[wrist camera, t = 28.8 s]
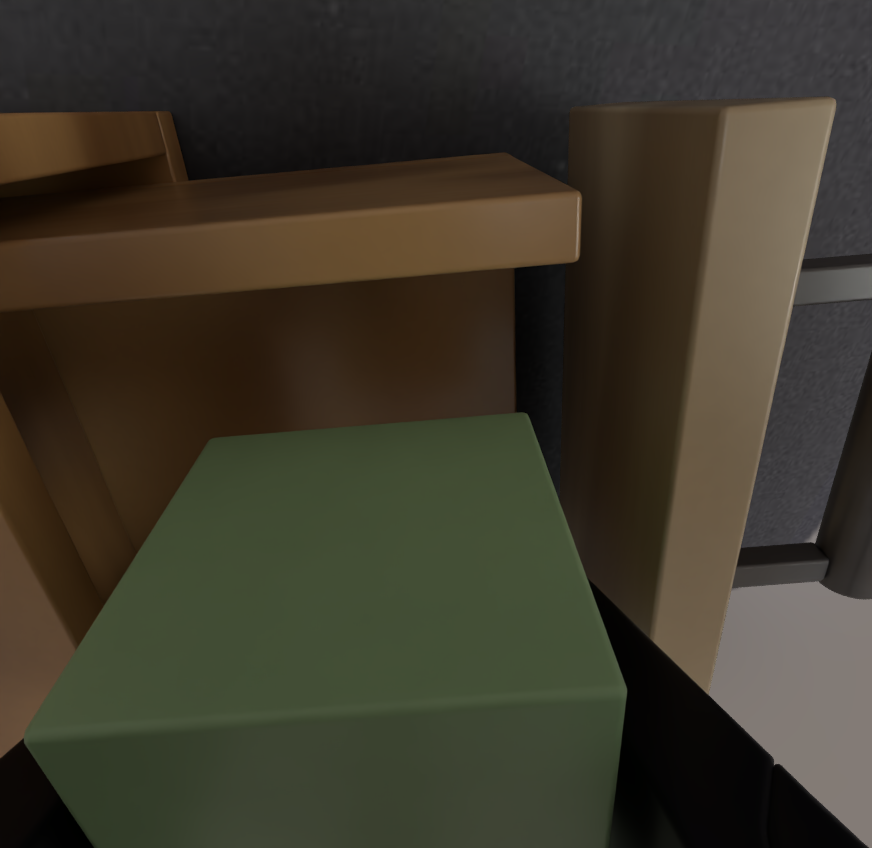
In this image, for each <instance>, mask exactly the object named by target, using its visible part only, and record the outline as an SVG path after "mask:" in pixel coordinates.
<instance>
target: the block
mask: <svg viewBox="0 0 872 848" xmlns="http://www.w3.org/2000/svg"><path fill="white" fill-rule="evenodd" d="M626 697H627V688H626V685H625V682H624V679H623V677H622V674H621V671H620V668H619V665H618V663H617V660H616V657H615V654H614V652H613V649H612V646H611V643H610V640H609V638H608V635H607V632H606V629H605V627H604V624H603V621H602V618H601V615H600V613H599V610H598V607H597V604H596V602H595V599H594V596H593V593H592V590H591V588H590V585H589V582H588V579H587V577H586V574H585V571H584V568H583V566H582V563H581V560H580V557H579V554H578V552H577V549H576V546H575V543H574V541H573V538H572V535H571V532H570V529H569V527H568V524H567V521H566V518H565V516H564V513H563V510H562V507H561V504H560V502H559V499H558V496H557V493H556V491H555V488H554V485H553V482H552V479H551V477H550V474H549V471H548V468H547V466H546V463H545V460H544V457H543V454H542V452H541V449H540V446H539V443H538V441H537V438H536V435H535V432H534V430H533V427H532V424H531V421H530V418H529V416H528V414H527V413H523V412H520V413H508V414H496V415H484V416H472V417H460V418H447V419H435V420H423V421H411V422H399V423H387V424H375V425H362V426H350V427H338V428H326V429H314V430H302V431H290V432H277V433H265V434H253V435H241V436H229V437H217V438H212V439H210V440H209V441H208V443H207V444H206V446H205V447H204V449H203V450H202V452H201V454H200V455H199V457H198V458H197V460H196V461H195V463H194V465H193V466H192V468H191V469H190V471H189V473H188V474H187V476H186V477H185V479H184V480H183V482H182V484H181V485H180V487H179V488H178V490H177V491H176V493H175V495H174V496H173V498H172V499H171V501H170V503H169V504H168V506H167V507H166V509H165V510H164V512H163V514H162V515H161V517H160V518H159V520H158V521H157V523H156V525H155V526H154V528H153V529H152V531H151V533H150V534H149V536H148V537H147V539H146V540H145V542H144V544H143V545H142V547H141V548H140V550H139V551H138V553H137V555H136V556H135V558H134V559H133V561H132V563H131V564H130V566H129V567H128V569H127V570H126V572H125V574H124V575H123V577H122V578H121V580H120V581H119V583H118V585H117V586H116V588H115V589H114V591H113V593H112V594H111V596H110V597H109V599H108V600H107V602H106V604H105V605H104V607H103V608H102V610H101V611H100V613H99V615H98V616H97V618H96V619H95V621H94V623H93V624H92V626H91V627H90V629H89V630H88V632H87V634H86V635H85V637H84V638H83V640H82V641H81V643H80V645H79V646H78V648H77V649H76V651H75V653H74V654H73V656H72V657H71V659H70V660H69V662H68V664H67V665H66V667H65V668H64V670H63V671H62V673H61V675H60V676H59V678H58V679H57V681H56V683H55V684H54V686H53V687H52V689H51V690H50V692H49V694H48V695H47V697H46V698H45V700H44V701H43V703H42V705H41V706H40V708H39V709H38V711H37V713H36V714H35V716H34V717H33V719H32V720H31V722H30V724H29V725H28V727H27V728H26V730H25V734H24V744H25V745H26V747H27V748H28V750H29V751H30V753H31V754H32V756H33V757H34V759H35V760H36V762H37V763H38V765H39V766H40V768H41V769H42V771H43V772H44V774H45V775H46V777H47V778H48V780H49V781H50V783H51V784H52V786H53V787H54V789H55V790H56V792H57V793H58V794H59V796H60V797H61V799H62V800H63V802H64V803H65V805H66V806H67V808H68V809H69V811H70V812H71V814H72V815H73V817H74V818H75V820H76V821H77V823H78V824H79V826H80V827H81V829H82V830H83V832H84V833H85V835H86V836H87V838H88V839H89V841H90V842H91V844H92V845H93V847H94V848H609V844H610V835H611V826H612V818H613V809H614V801H615V792H616V783H617V775H618V766H619V757H620V749H621V740H622V731H623V723H624V714H625V705H626Z"/></svg>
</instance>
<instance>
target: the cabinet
mask: <svg viewBox="0 0 872 848" xmlns="http://www.w3.org/2000/svg"><path fill="white" fill-rule="evenodd" d="M181 181H189V180H188V176H187V172H186V168H185V165H184V161H183V157H182V153H181V149H180V145H179V142H178V138H177V134H176V130H175V126H174V123H173V119H172V115H171V113H170V112H169V111H125V112H46V113H0V198H3V197H14V196H25V195H36V194H47V193H59V192H70V191H81V190H92V189H103V188H114V187H125V186H136V185H147V184H158V183H170V182H181ZM103 607H104V606H103V603H102V601H101V599H100V597H99V595H98V593H97V591H96V589H95V587H94V585H93V583H92V581H91V579H90V577H89V574H88V572H87V570H86V568H85V566H84V564H83V562H82V560H81V558H80V556H79V554H78V552H77V550H76V548H75V545H74V543H73V541H72V539H71V537H70V535H69V533H68V531H67V529H66V527H65V525H64V523H63V521H62V519H61V516H60V514H59V512H58V510H57V508H56V506H55V504H54V502H53V500H52V498H51V496H50V494H49V492H48V489H47V487H46V485H45V483H44V481H43V479H42V477H41V475H40V473H39V471H38V469H37V467H36V465H35V463H34V460H33V458H32V456H31V454H30V452H29V450H28V448H27V446H26V444H25V442H24V440H23V438H22V436H21V434H20V431H19V429H18V427H17V425H16V423H15V421H14V419H13V417H12V415H11V413H10V411H9V409H8V407H7V405H6V402H5V400H4V398H3V396H2V394H1V392H0V758H1V757H2V756H4V755H5V754H6V753H7V752H8V751H9V750H10V749H11V748H13V747H14V746H15V745H16V744H17V743H18V742H19V741H20V740H22V739H23V738H24V734H25V730H26V728H27V727H28V725H29V724H30V722H31V720H32V719H33V717H34V716H35V714H36V713H37V711H38V709H39V708H40V706H41V705H42V703H43V701H44V700H45V698H46V697H47V695H48V694H49V692H50V690H51V689H52V687H53V686H54V684H55V683H56V681H57V679H58V678H59V676H60V675H61V673H62V671H63V670H64V668H65V667H66V665H67V664H68V662H69V660H70V659H71V657H72V656H73V654H74V653H75V651H76V649H77V648H78V646H79V645H80V643H81V641H82V640H83V638H84V637H85V635H86V634H87V632H88V630H89V629H90V627H91V626H92V624H93V623H94V621H95V619H96V618H97V616H98V615H99V613H100V611H101V610H102V608H103Z"/></svg>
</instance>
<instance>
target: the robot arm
mask: <svg viewBox="0 0 872 848" xmlns="http://www.w3.org/2000/svg"><path fill="white" fill-rule="evenodd" d="M587 579H588V578H587ZM588 582H589V585H590V588H591V590H592V593H593V596H594V599H595V602H596V604H597V607H598V610H599V613H600V615H601V618H602V621H603V624H604V627H605V629H606V632H607V635H608V638H609V640H610V643H611V646H612V649H613V652H614V654H615V657H616V660H617V663H618V665H619V668H620V671H621V674H622V677H623V679H624V682H625V685H626V688H627V697H626V705H625V714H624V723H623V731H622V740H621V749H620V757H619V766H618V775H617V783H616V792H615V801H614V809H613V818H612V826H611V835H610V844H609V848H869V847H867V846H866V845H865V844H864V843H863V842H861V841H860V840H859V839H858V838H857V837H856V836H855V835H854V834H853V833H852V832H851V831H850V830H849V829H848V828H847V827H845V826H844V825H843V824H842V823H841V822H840V821H839V820H838V819H837V818H836V817H835V816H834V815H833V814H832V813H831V812H829V811H828V810H827V809H826V808H825V807H824V806H823V805H822V804H821V803H820V802H819V801H817V799H815V798H814V797H813V796H812V795H811V794H810V793H809V792H808V791H807V790H806V789H805V788H804V787H803V786H802V785H801V784H800V783H799V782H798V781H797V780H796V779H795V778H794V777H793V776H791V774H790V773H788V772H787V771H786V770H785V769H784V768H783V767H782V766H781V765H780V764H775V765H774V759H773V757H772V756H771V755H770V754H769V753H768V752H766V751H765V750H764V749H763V748H762V747H761V746H760V745H759V744H758V743H757V742H756V741H755V740H754V739H753V738H752V737H751V736H750V735H749V734H748V733H747V732H746V731H745V730H744V729H743V728H742V727H741V726H740V725H739V724H738V723H737V722H736V721H735V720H734V719H732V717H730V716H729V715H728V714H727V713H726V712H725V711H724V710H723V709H722V708H721V707H720V706H719V705H718V704H717V703H716V702H715V701H714V700H713V699H712V698H711V697H710V696H709V695H708V694H707V693H706V692H705V691H704V690H703V689H702V688H701V687H700V686H699V685H698V684H697V683H695V682H694V681H693V680H692V679H691V678H690V677H689V676H688V675H687V674H686V673H685V672H684V671H683V670H682V669H681V668H680V667H679V666H678V665H677V664H676V663H675V662H674V661H673V660H672V659H671V658H670V657H669V656H668V655H667V654H666V653H665V652H664V651H663V650H661V649H660V648H659V647H658V646H657V645H656V644H655V643H654V642H653V641H652V640H651V639H650V638H649V637H648V636H647V635H646V634H645V633H644V632H643V631H642V630H641V629H640V628H639V627H638V626H637V625H636V624H635V623H634V622H633V621H632V620H631V619H630V618H629V617H627V616H626V615H625V614H624V613H623V612H622V611H621V610H620V609H619V608H618V607H617V606H616V605H615V604H614V603H613V602H612V601H611V600H610V599H609V598H608V597H607V596H606V595H605V594H604V593H603V592H602V591H601V590H600V589H599V588H598V587H597V586H596V585H595V584H594V583H592V582H591V581H590V580H589V579H588ZM0 848H94V847H93V845H92V844H91V842H90V841H89V839H88V838H87V836H86V835H85V833H84V832H83V830H82V829H81V827H80V826H79V824H78V823H77V821H76V820H75V818H74V817H73V815H72V814H71V812H70V811H69V809H68V808H67V806H66V805H65V803H64V802H63V800H62V799H61V797H60V796H59V794H58V793H57V792H56V790H55V789H54V787H53V786H52V784H51V783H50V781H49V780H48V778H47V777H46V775H45V774H44V772H43V771H42V769H41V768H40V766H39V765H38V763H37V762H36V760H35V759H34V757H33V756H32V754H31V753H30V751H29V750H28V748H27V747H26V745H25V744H24V738H23V739H22V740H20V741H19V742H18V743H17V744H16V745H15V746H14V747H13V748H11V749H10V750H9V751H8V752H7V753H6V754H5V755H4V756H2V757H1V758H0Z"/></svg>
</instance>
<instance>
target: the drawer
mask: <svg viewBox="0 0 872 848" xmlns="http://www.w3.org/2000/svg"><path fill="white" fill-rule="evenodd" d="M835 110H836V100H835V99H833V98H831V97H792V98H756V99H719V100H683V101H647V102H621V103H610V104H599V105H588V106H577V107H573V108H571V110H570V114H569V153H568V185H566V184H564V183H562V182H561V181H559V180H557V179H555V178H553V177H551V176H549V175H547V174H545V173H543V172H541V171H539V170H537V169H535V168H534V167H532V166H530V165H528V164H526V163H524V162H522V161H520V160H518V159H516V158H514V157H512V155H510V154H508V153H505V152H503V153H492V154H480V155H469V156H458V157H447V158H436V159H425V160H414V161H403V162H392V163H381V164H369V165H358V166H347V167H336V168H325V169H314V170H303V171H292V172H281V173H270V174H258V175H247V176H236V177H225V178H214V179H203V180H192V181H181V182H170V183H158V184H147V185H136V186H125V187H114V188H103V189H92V190H81V191H70V192H59V193H47V194H36V195H25V196H14V197H3V198H0V392H1V394H2V396H3V398H4V400H5V402H6V405H7V407H8V409H9V411H10V413H11V415H12V417H13V419H14V421H15V423H16V425H17V427H18V429H19V431H20V434H21V436H22V438H23V440H24V442H25V444H26V446H27V448H28V450H29V452H30V454H31V456H32V458H33V460H34V463H35V465H36V467H37V469H38V471H39V473H40V475H41V477H42V479H43V481H44V483H45V485H46V487H47V489H48V492H49V494H50V496H51V498H52V500H53V502H54V504H55V506H56V508H57V510H58V512H59V514H60V516H61V519H62V521H63V523H64V525H65V527H66V529H67V531H68V533H69V535H70V537H71V539H72V541H73V543H74V545H75V548H76V550H77V552H78V554H79V556H80V558H81V560H82V562H83V564H84V566H85V568H86V570H87V572H88V574H89V577H90V579H91V581H92V583H93V585H94V587H95V589H96V591H97V593H98V595H99V597H100V599H101V601H102V603H103V606H104V605H105V604H106V602H107V600H108V599H109V597H110V596H111V594H112V593H113V591H114V589H115V588H116V586H117V585H118V583H119V581H120V580H121V578H122V577H123V575H124V574H125V572H126V570H127V569H128V567H129V566H130V564H131V563H132V561H133V559H134V558H135V556H136V555H137V553H138V551H139V550H140V548H141V547H142V545H143V544H144V542H145V540H146V539H147V537H148V536H149V534H150V533H151V531H152V529H153V528H154V526H155V525H156V523H157V521H158V520H159V518H160V517H161V515H162V514H163V512H164V510H165V509H166V507H167V506H168V504H169V503H170V501H171V499H172V498H173V496H174V495H175V493H176V491H177V490H178V488H179V487H180V485H181V484H182V482H183V480H184V479H185V477H186V476H187V474H188V473H189V471H190V469H191V468H192V466H193V465H194V463H195V461H196V460H197V458H198V457H199V455H200V454H201V452H202V450H203V449H204V447H205V446H206V444H207V443H208V441H209V440H210V439H212V438H217V437H229V436H241V435H253V434H265V433H277V432H290V431H302V430H314V429H326V428H338V427H350V426H362V425H375V424H387V423H399V422H411V421H423V420H435V419H447V418H460V417H472V416H484V415H496V414H508V413H517V405H516V343H515V281H514V268H518V267H530V266H541V265H553V264H564V263H566V271H565V310H564V350H563V389H562V428H561V467H560V504H561V507H562V510H563V513H564V516H565V518H566V521H567V524H568V527H569V529H570V532H571V535H572V538H573V541H574V543H575V546H576V549H577V552H578V554H579V557H580V560H581V563H582V566H583V568H584V571H585V574H586V577H587V578H588V579H589V580H590V581H591V582H592V583H594V584H595V585H596V586H597V587H598V588H599V589H600V590H601V591H602V592H603V593H604V594H605V595H606V596H607V597H608V598H609V599H610V600H611V601H612V602H613V603H614V604H615V605H616V606H617V607H618V608H619V609H620V610H621V611H622V612H623V613H624V614H625V615H626V616H627V617H629V618H630V619H631V620H632V621H633V622H634V623H635V624H636V625H637V626H638V627H639V628H640V629H641V630H642V631H643V632H644V633H645V634H646V635H647V636H648V637H649V638H650V639H651V640H652V641H653V642H654V643H655V644H656V645H657V646H658V647H659V648H660V649H661V650H663V651H664V652H665V653H666V654H667V655H668V656H669V657H670V658H671V659H672V660H673V661H674V662H675V663H676V664H677V665H678V666H679V667H680V668H681V669H682V670H683V671H684V672H685V673H686V674H687V675H688V676H689V677H690V678H691V679H692V680H693V681H694V682H695V683H697V684H698V685H699V686H700V687H701V688H702V689H703V690H704V691H705V692H706V693H707V694H708V695H709V690H710V686H711V681H712V677H713V672H714V667H715V662H716V658H717V654H718V648H719V644H720V640H721V635H722V630H723V625H724V621H725V617H726V612H727V607H728V603H729V598H730V594H731V589H732V588H738V587H751V586H764V585H776V584H788V583H789V584H790V583H802V582H815V581H819V582H820V583H821V584H822V585H824V586H825V587H827V588H828V589H830V590H832V591H834V592H836V593H838V594H841V595H843V596H847V597H851V598H855V599H872V352H871V356H870V359H869V363H868V366H867V369H866V373H865V376H864V380H863V383H862V386H861V390H860V393H859V397H858V400H857V403H856V407H855V410H854V414H853V417H852V420H851V424H850V427H849V431H848V434H847V437H846V441H845V444H844V448H843V451H842V454H841V458H840V461H839V465H838V468H837V471H836V475H835V478H834V482H833V485H832V488H831V492H830V495H829V499H828V502H827V505H826V509H825V512H824V516H823V519H822V522H821V526H820V529H819V533H818V536H817V540H816V543H815V544H814V543H811V542H810V543H797V544H785V545H772V546H759V547H747V548H741V543H742V538H743V534H744V529H745V524H746V520H747V515H748V511H749V506H750V501H751V497H752V492H753V488H754V483H755V478H756V474H757V469H758V465H759V460H760V455H761V451H762V446H763V442H764V437H765V432H766V428H767V423H768V418H769V414H770V409H771V405H772V400H773V395H774V391H775V386H776V382H777V377H778V372H779V368H780V363H781V359H782V354H783V349H784V345H785V340H786V336H787V331H788V326H789V322H790V317H791V312H792V308H793V306H803V305H815V304H826V303H838V302H850V301H861V300H872V254H862V255H850V256H839V257H827V258H816V259H804V260H803V257H804V253H805V248H806V243H807V239H808V234H809V230H810V225H811V220H812V216H813V211H814V206H815V202H816V197H817V193H818V188H819V183H820V179H821V174H822V170H823V165H824V160H825V156H826V151H827V147H828V142H829V137H830V133H831V128H832V124H833V119H834V114H835Z"/></svg>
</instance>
